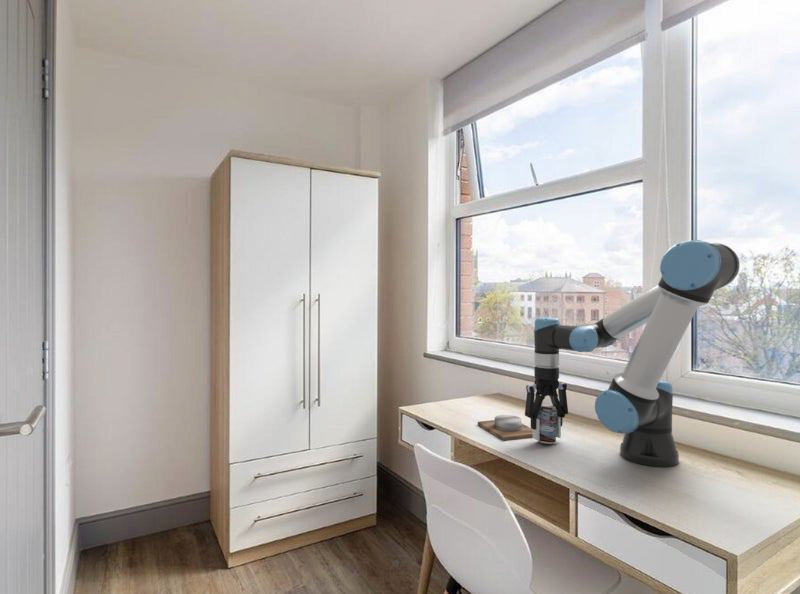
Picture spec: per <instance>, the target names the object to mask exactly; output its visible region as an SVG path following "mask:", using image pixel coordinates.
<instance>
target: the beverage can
mask: <svg viewBox="0 0 800 594" xmlns="http://www.w3.org/2000/svg"><path fill="white" fill-rule="evenodd" d="M537 419H539V420H540V440H538V443H542V444H547V445H552V444H554V443H555V442H556V441H557V437H556V428H557V410H556V407H555V406H553V405H549V404H542V405H541V408H540V411H539V414H538V417H537Z"/></svg>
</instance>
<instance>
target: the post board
mask: <svg viewBox="0 0 800 594" xmlns="http://www.w3.org/2000/svg"><path fill="white" fill-rule="evenodd" d="M477 426H478V427H480V428H481V429H484V431H487V432H488V433H490V434H491V435H493V436H494V437H496V438H498V439H499V440H501V441H502V442H505V441H513V440H523V439H530V438H531V439H533V429H532V428H531V426H528V425H526V424H524V423H522V418H521V417H519V416H517V415H511V414H498V415H496V416H494V419H491V420H484V421H483V420H482V421H477Z"/></svg>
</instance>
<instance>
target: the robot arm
mask: <svg viewBox="0 0 800 594" xmlns="http://www.w3.org/2000/svg"><path fill="white" fill-rule="evenodd" d="M659 266H660V267H659V271H660V273H661V278H660V279H659V282H658V283H657V285H656V286H654V287H653V288H651V289H649V290H648V291H646V292H645V293H643V294H641V295H639V296H638V297H636V298H634V299H633V300H631V301H629V302H628V303H626V304H624V305H623V306H621V307H620V308H618V309H616V310H615V311H612V312H611V313H609V314H608V315H606V316H605V317H603V318H601V319H600V320H598V321H596V322H594V323H590V324H583V325H582V324H581V325H578V324H577V325H567V324H566V325H565V324H561V323H560V319H559V318H557V317H546V316H545V317H538V318H536V319H535V320H534V330H533V337H534V338H533V339H534V365H535V366H534V370H533V371H534V383H533V384H532V385H529V384H528V385H527V384H526V386H525V389H526V399H525V407H524V408H525V410H524V416H525V417H526V418H529V419H530V428H532V429H533V437H532V439H534V440H536V441H538V440H540V420H539V419H537V417H538V414H539V411H540V408H541V405H543V401H544V400H545V398H546V397H547V396H549V398H550V401H551V403H552V406H555V407H556V410H557V428H556V438H558V439H561V438H562V436H561V435H562V434H561V433H562V426H563V418H565V417H566V415H568V414H569V408H568V397H567V388H568V387H567V386H568V385H567V383H564V382H559V379H560V368H559V366H560V350H565V351H572V352H577V353H591V352H594V350H595V349H598V348H601V349H602V348H607V347H610V346H612V345H614V344H615V343H616V341H617V340H618V339H619V338H622V337H623V336H625V335H627V334H629V333H631V332H633V331H634V330H636V329H638V328H640V327H641V326H644V325H645V326H644V329H643V330H642V333H641V334H640V337H639V339H638V341H637V343H636V345H635V347H634V349H633V351H632V354H631V355H630V357H629V359H628V361H627V363H626V365H625V368H624V369H623V372H619V373H616V374H614V377H613V378H612V380H611V382H610V385H609V387H608V388H607V389H605V390H603V391H602V392H601V393H599V394H598V395H597V396H596V399H595V401H594V411H595V414H596V415H597V419H598V421H599V423H600V424H602V425H603V427H605V428H606V430H608V431H611V432H613V433H616V434H624V436H623V439H622V442H621V443H620V445H619V447H620V448H619V454H620V456H621V457H623V459H626V460H628V461H630V462H633V463H635V464H639V465H643V466H650V467H659V468H660V467H661V468H662V467H663V468H664V467H674V466H676V465H678V464H679V461H680V458H679V457H680V455H679V450H677V448H676V443H675V439H674V437H673V398H674V397H673V396H674V393H673V386H672V384H671V382H668V381H666V380H661V379H662V377H663V375H664V373H665V371H666V369H667V367H668V366H669V364H670V362H671V359H672V358H673V355H674V353H675V352H676V350H677V348H678V346H679V344H680V342H681V340H682V339H683V336H684V335H685V332H686V331H687V328H688V327H689V326H690V323H691V321H692V319H693V317H694V316H695V314H696V312H697V310H698V308H699V307H702V306H705V305H708V304H709V303H710V300H711V299H712V296H713V295H714V293H715V291H717V290H719V289H721V288H724V287H726V286H727V285H729V284H731V283H732V282H733V281H734V280H735V279H736V277H738V274H739V270H740V258H739V256H738V255H737V253H736V252H735V251H734V250H733V249H732V248H731V247H730V246H728V245H726V244H723V243H719V242H710V241H703V240H701V239H699V240H698V239H693V240H692V239H691V240H684V241H681V242H678V243H676V244H674V245H672V246H671V247H670V248H669V249H668V250H667V251H666V252H665V253H664V254H663V256H662V258H661V260H660V265H659ZM557 390H558V391H557ZM538 442H539V441H538Z"/></svg>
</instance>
